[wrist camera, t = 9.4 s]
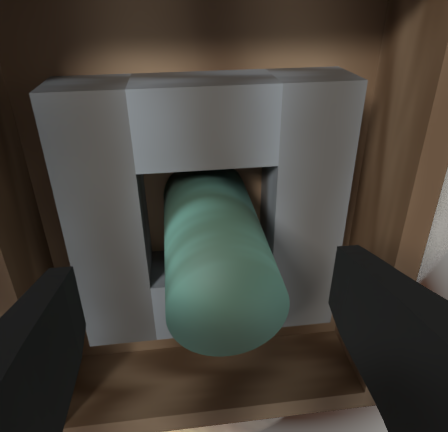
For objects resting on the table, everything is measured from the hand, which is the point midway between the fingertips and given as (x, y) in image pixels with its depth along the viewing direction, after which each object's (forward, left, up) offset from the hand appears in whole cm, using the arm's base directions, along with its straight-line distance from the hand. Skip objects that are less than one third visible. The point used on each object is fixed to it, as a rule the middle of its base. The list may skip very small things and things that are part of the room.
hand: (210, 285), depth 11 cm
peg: (+1, -2, -9) cm, 9 cm away
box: (+1, -2, -9) cm, 10 cm away
